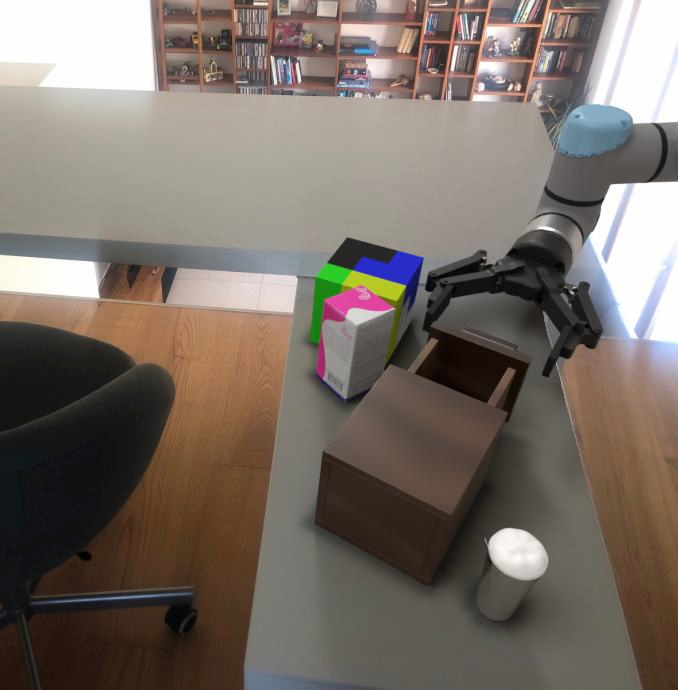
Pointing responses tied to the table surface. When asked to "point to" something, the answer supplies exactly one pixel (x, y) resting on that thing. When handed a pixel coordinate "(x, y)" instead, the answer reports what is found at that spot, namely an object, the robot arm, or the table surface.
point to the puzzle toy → (370, 282)
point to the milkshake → (509, 572)
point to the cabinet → (406, 470)
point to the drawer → (473, 365)
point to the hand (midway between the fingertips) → (485, 344)
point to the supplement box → (354, 342)
